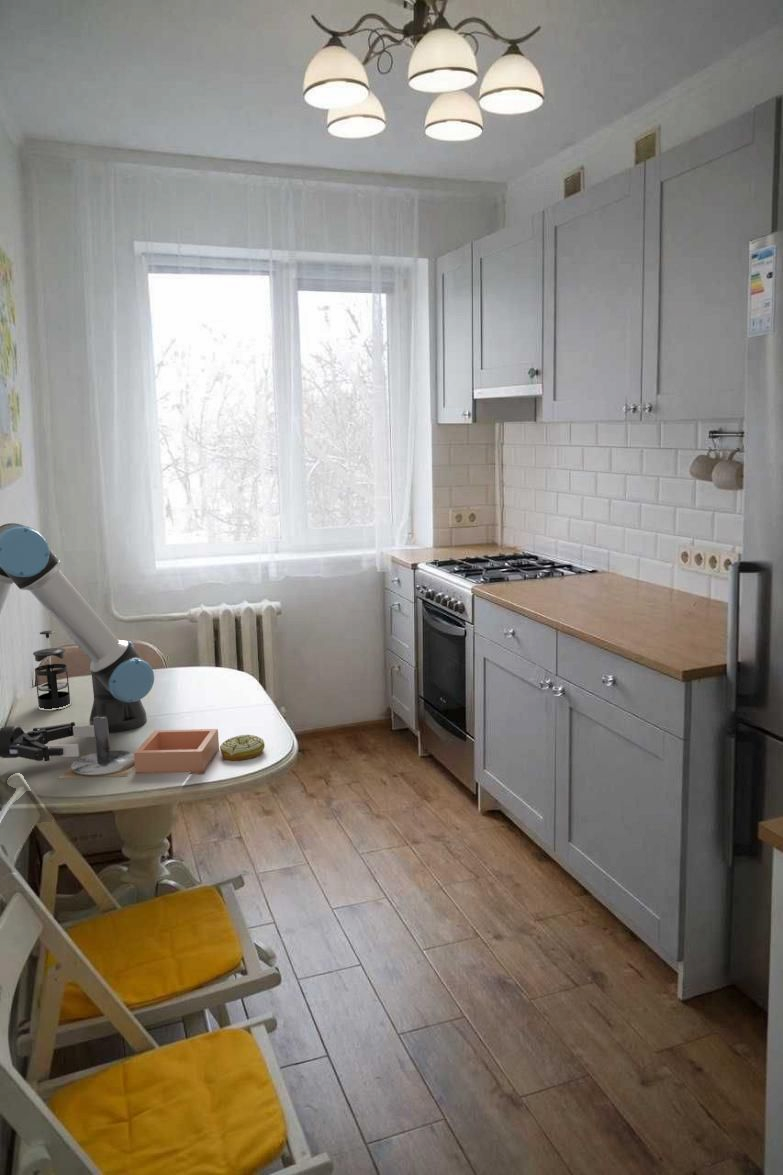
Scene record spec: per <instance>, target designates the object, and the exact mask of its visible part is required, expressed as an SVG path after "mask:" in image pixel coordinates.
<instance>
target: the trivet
mask: <svg viewBox="0 0 783 1175" xmlns="http://www.w3.org/2000/svg"><path fill="white" fill-rule="evenodd" d="M134 752H135V751H133V752H132V753H134ZM90 754H93V753H90V752H89V753H83V754H82V755H81V756H80V757H79V758H81V757H84V756H86V755H90ZM134 769H135V765H134V766H132V767H131V768H129V769H127V770H124V771H121V772H118V773H114V774H110V775H103V776H81V775H77V774H75V773H73V772H72V767H71V766H70V767H68V768H67V769H66V770H65V772H63V773H62V774H61V775H60V776H58V779H72V778H73V779H76V778H77V779H79V778H81V779H83V778H119V777H121V778H123V777H128V776H129V775H130V773H131V772H132V771H133V770H134Z"/></svg>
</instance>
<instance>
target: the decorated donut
mask: <svg viewBox="0 0 783 1175" xmlns="http://www.w3.org/2000/svg"><path fill="white" fill-rule="evenodd" d="M265 746H266V745H265V741H264V739H263V738H262V737H260V736H257V735H253V734H242V735H241V734H240V735H237V736H232V737H230V738H228V739H226V740H225V741H223V742H222V743H221V744H220V745H219V751H220V755H221V756H222V758H223V759H225V760H231V761H242V760H249V759H252V758H256V757H258V756H259V755H260V754H262V753H263V751H264V750H265Z"/></svg>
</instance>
